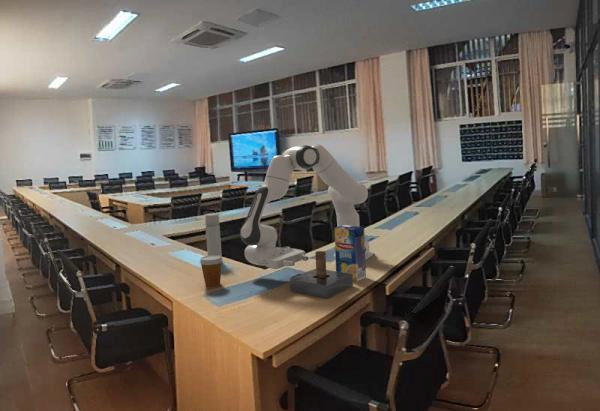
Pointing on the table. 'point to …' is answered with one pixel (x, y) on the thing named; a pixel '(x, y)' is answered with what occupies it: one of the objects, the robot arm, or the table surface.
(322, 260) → the walnut pin
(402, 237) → the table surface
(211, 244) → the water bottle
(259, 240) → the robot arm
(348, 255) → the beverage box
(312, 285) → the socket block
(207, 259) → the disposable coffee cup
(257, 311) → the table surface
